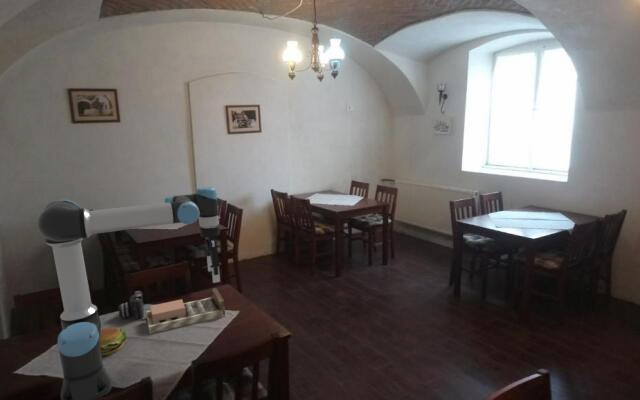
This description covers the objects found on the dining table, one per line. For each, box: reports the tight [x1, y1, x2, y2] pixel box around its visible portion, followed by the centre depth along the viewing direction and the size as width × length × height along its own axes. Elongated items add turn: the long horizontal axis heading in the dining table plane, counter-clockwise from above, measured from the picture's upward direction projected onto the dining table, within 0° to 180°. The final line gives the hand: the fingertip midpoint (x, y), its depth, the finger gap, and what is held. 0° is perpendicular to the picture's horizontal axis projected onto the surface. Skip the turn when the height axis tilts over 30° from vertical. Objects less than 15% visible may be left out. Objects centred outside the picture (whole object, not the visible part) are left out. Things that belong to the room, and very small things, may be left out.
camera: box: [118, 290, 145, 321], centre depth 196 cm, size 14×11×10 cm
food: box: [100, 326, 127, 356], centre depth 168 cm, size 14×14×8 cm
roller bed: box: [146, 287, 226, 335], centre depth 193 cm, size 33×17×8 cm, turn 116°
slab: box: [150, 298, 186, 322], centre depth 189 cm, size 14×10×4 cm
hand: (213, 276), depth 168 cm, fingers open, 13 cm apart
